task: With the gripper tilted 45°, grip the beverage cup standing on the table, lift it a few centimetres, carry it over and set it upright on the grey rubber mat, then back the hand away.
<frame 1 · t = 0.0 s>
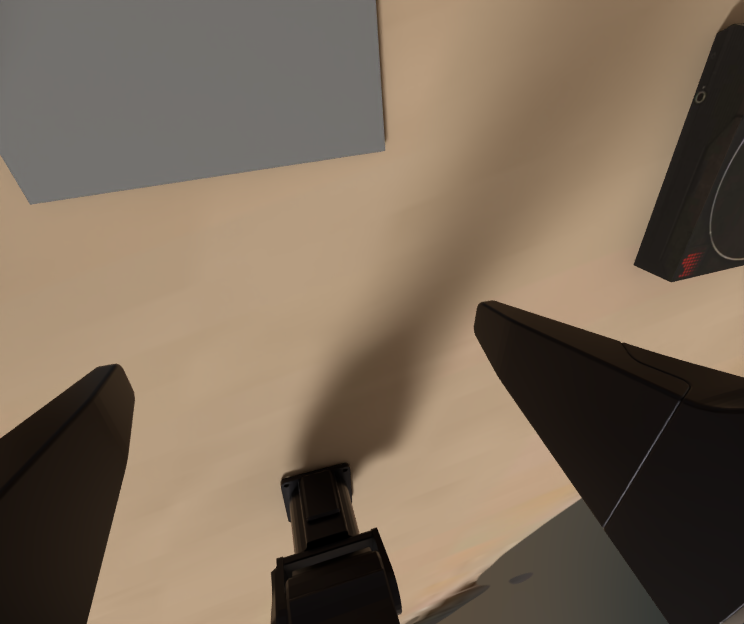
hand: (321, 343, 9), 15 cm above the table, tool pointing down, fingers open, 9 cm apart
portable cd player: (739, 151, 31), on the table
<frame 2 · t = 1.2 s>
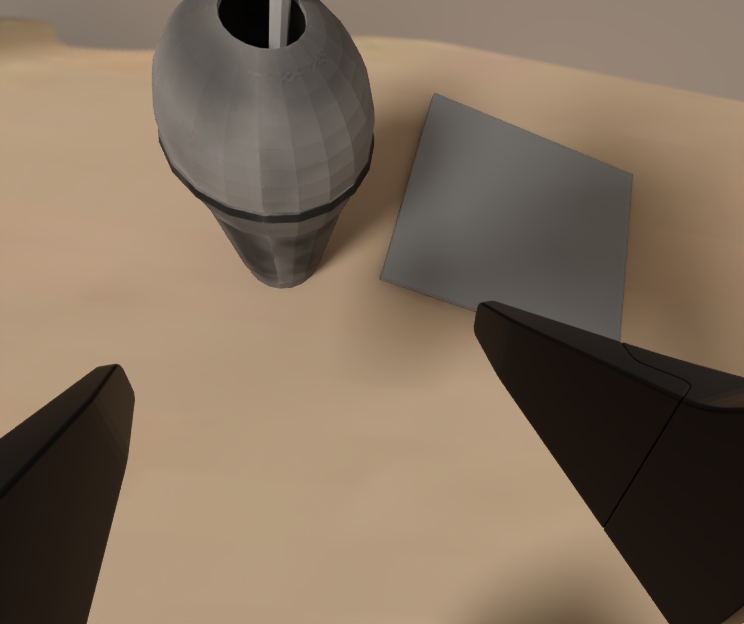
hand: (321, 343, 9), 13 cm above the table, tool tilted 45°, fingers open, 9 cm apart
beverage cup: (282, 256, 24), on the table
rubber mat: (518, 222, 28), on the table
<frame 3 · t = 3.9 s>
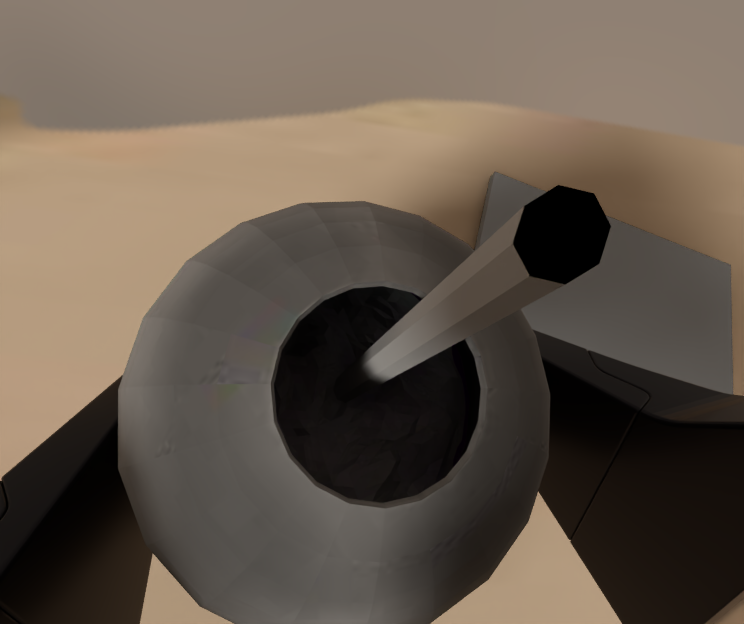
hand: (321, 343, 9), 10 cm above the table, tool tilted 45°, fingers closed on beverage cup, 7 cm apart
beverage cup: (312, 402, 18), on the table, touching gripper
rubber mat: (600, 335, 23), on the table
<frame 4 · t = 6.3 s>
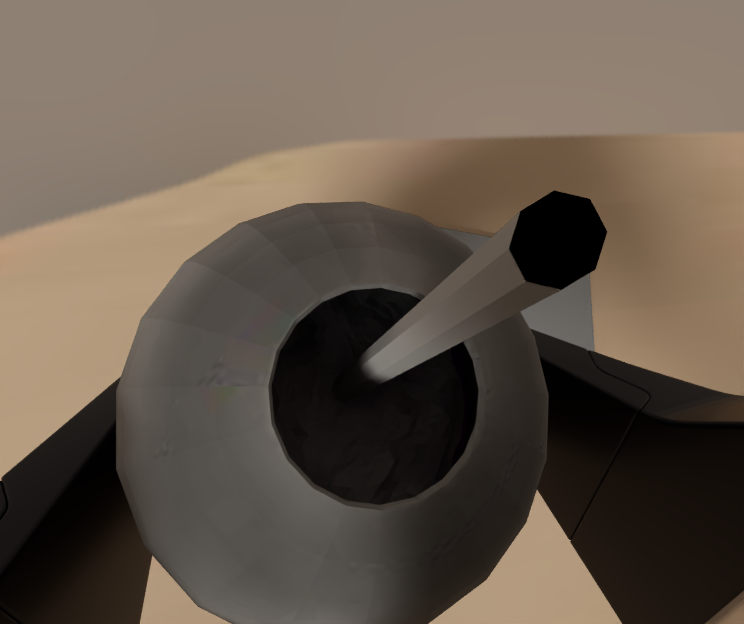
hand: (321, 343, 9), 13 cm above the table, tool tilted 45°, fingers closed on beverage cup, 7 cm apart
beverage cup: (311, 401, 18), point 4 cm above the table, touching gripper
rubber mat: (472, 345, 25), on the table
when the fingers open (11 cm above the table, at t = 8.9 s): beverage cup stays where it is, resting on rubber mat.
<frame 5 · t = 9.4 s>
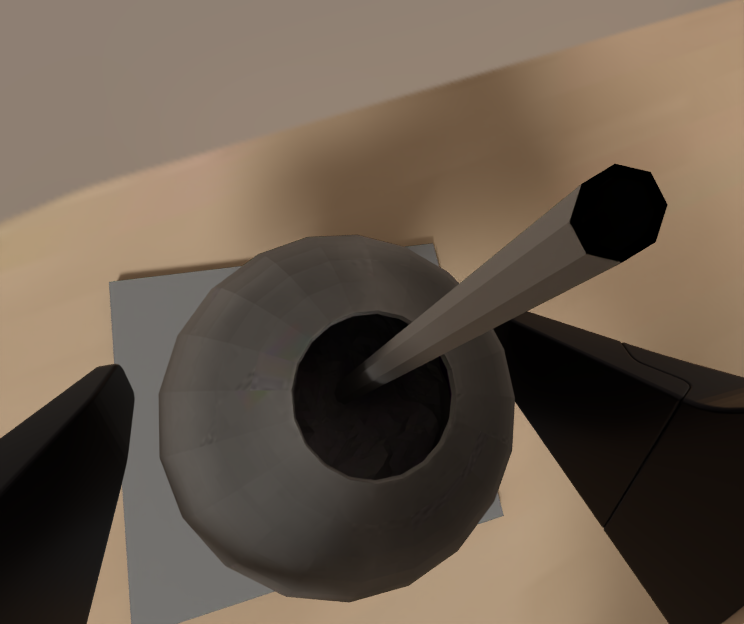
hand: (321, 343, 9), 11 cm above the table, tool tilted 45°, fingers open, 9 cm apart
beverage cup: (311, 403, 19), resting on rubber mat
rubber mat: (311, 402, 20), on the table
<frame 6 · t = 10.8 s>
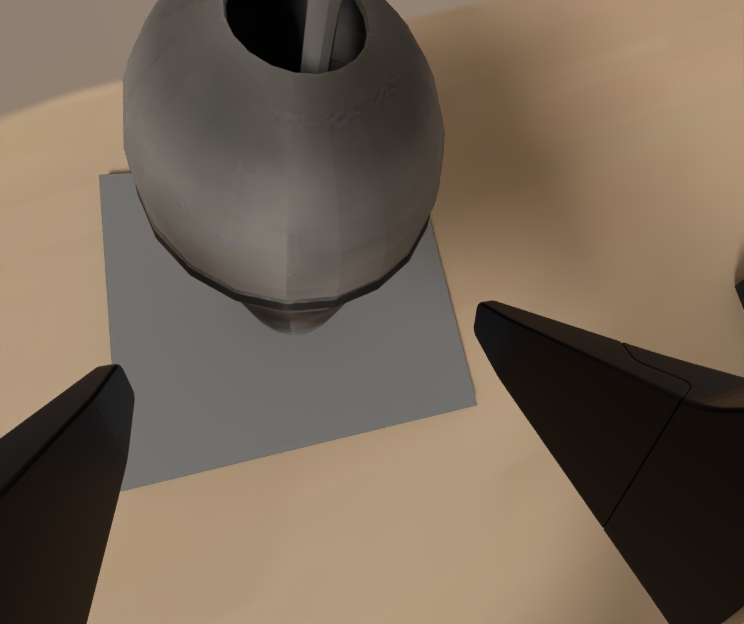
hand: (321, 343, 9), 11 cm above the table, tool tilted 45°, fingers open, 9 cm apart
beverage cup: (294, 295, 20), resting on rubber mat
rubber mat: (293, 296, 21), on the table
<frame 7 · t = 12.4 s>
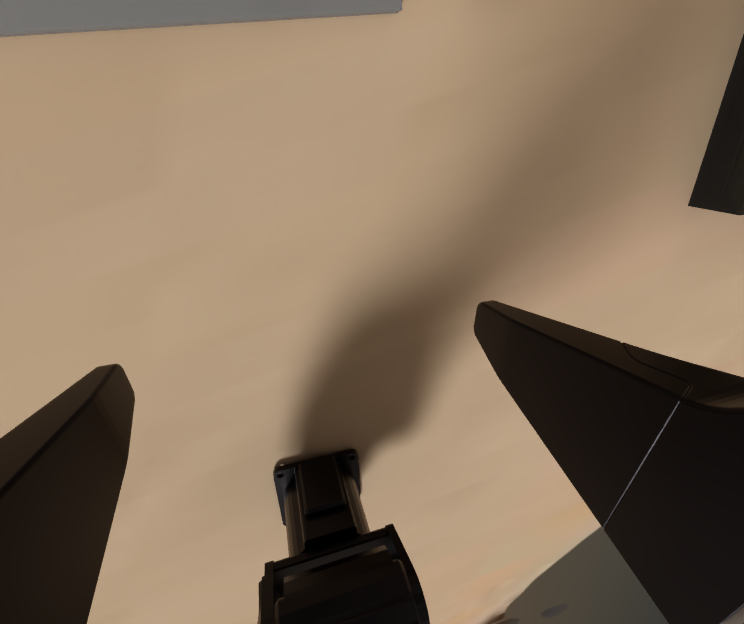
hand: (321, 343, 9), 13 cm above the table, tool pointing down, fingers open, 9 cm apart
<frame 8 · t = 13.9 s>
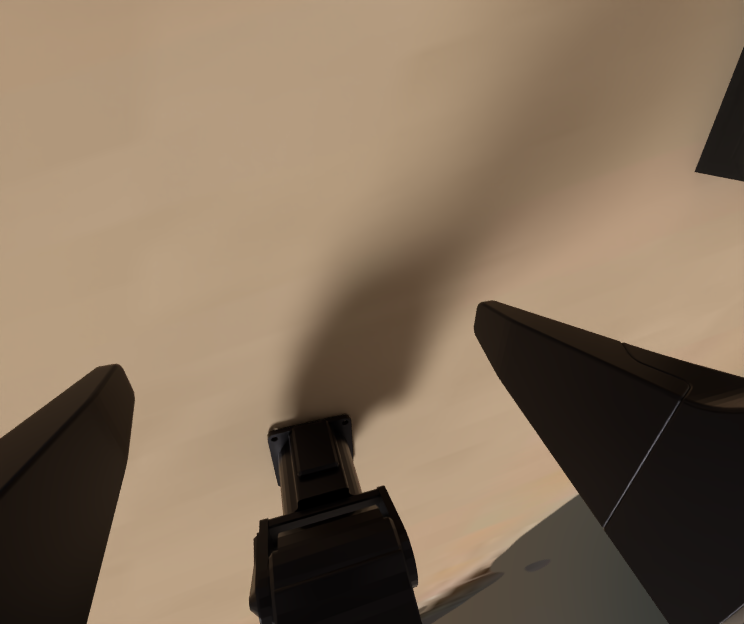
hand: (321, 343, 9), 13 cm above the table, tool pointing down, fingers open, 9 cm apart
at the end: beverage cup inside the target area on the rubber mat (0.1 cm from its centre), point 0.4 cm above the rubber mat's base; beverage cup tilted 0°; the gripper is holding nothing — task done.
